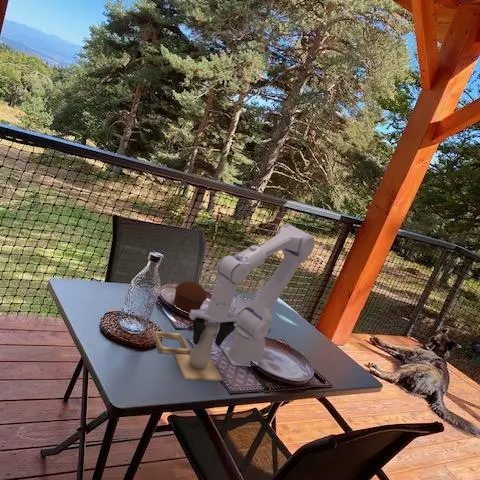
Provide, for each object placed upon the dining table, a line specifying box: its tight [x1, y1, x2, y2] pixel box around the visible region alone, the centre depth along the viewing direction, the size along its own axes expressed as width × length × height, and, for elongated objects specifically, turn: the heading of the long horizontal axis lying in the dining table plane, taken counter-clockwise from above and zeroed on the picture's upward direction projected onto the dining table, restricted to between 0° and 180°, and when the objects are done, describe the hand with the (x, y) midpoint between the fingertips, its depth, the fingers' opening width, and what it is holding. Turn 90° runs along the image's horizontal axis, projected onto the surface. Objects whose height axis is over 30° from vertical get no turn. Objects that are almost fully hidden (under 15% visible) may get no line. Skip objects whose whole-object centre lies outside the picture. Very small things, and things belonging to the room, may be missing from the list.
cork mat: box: [173, 354, 224, 382], centre depth 127 cm, size 11×11×1 cm
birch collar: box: [151, 330, 192, 355], centre depth 134 cm, size 9×9×2 cm
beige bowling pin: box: [189, 321, 219, 369], centre depth 126 cm, size 6×6×13 cm
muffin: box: [173, 280, 208, 313], centre depth 161 cm, size 12×11×10 cm
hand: (206, 343), depth 126 cm, fingers open, 6 cm apart
